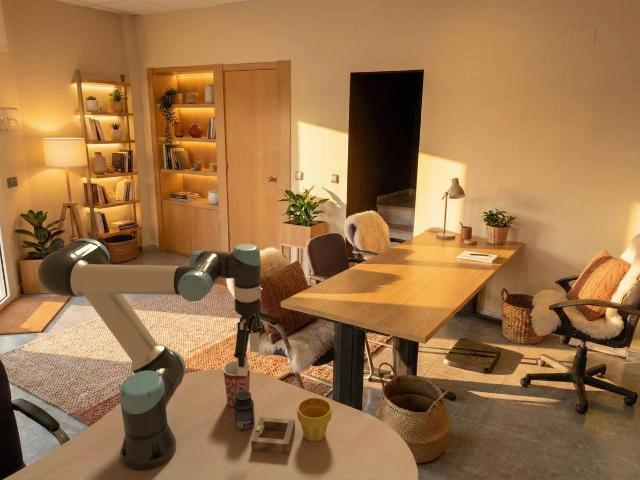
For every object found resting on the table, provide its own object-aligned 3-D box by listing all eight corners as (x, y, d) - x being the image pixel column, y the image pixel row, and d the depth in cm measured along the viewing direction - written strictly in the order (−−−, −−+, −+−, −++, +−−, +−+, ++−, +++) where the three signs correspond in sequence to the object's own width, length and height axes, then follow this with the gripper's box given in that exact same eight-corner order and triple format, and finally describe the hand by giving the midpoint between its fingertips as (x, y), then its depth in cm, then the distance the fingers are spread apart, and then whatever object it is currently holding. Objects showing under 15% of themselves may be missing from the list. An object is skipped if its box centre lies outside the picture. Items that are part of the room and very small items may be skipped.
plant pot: (327, 448, 144) (328, 420, 141) (293, 443, 146) (293, 415, 143) (334, 425, 154) (334, 399, 151) (302, 421, 156) (301, 395, 153)
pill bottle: (257, 427, 153) (256, 397, 150) (239, 434, 150) (238, 403, 147) (249, 416, 158) (248, 387, 155) (232, 423, 155) (230, 393, 152)
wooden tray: (251, 451, 143) (251, 440, 142) (260, 426, 153) (260, 416, 152) (288, 454, 142) (288, 443, 140) (295, 429, 152) (294, 419, 151)
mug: (249, 411, 161) (248, 375, 157) (222, 410, 161) (220, 374, 157) (255, 388, 173) (253, 354, 169) (229, 388, 173) (227, 354, 169)
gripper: (249, 317, 128) (250, 387, 134) (270, 282, 152) (270, 343, 158) (221, 315, 129) (223, 385, 135) (246, 280, 153) (247, 341, 159)
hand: (248, 362), depth 147 cm, fingers open, 13 cm apart
